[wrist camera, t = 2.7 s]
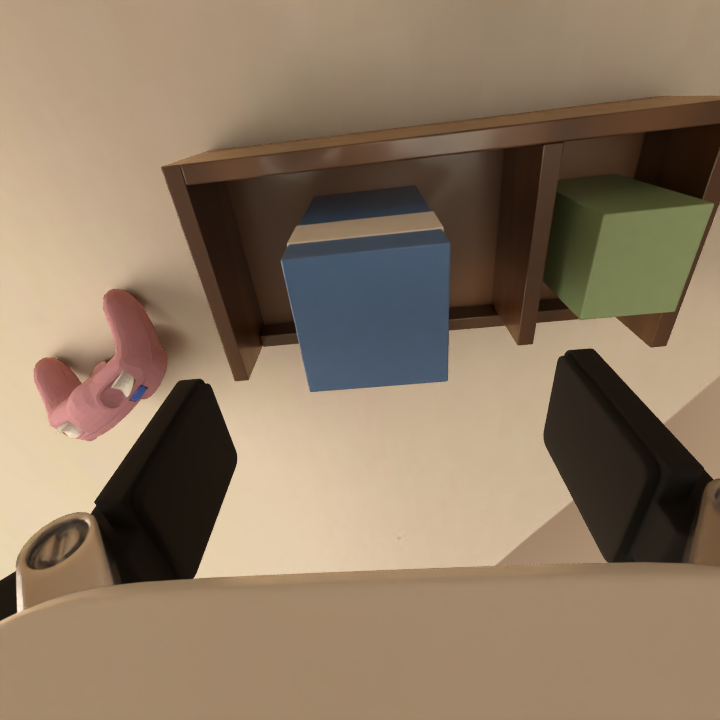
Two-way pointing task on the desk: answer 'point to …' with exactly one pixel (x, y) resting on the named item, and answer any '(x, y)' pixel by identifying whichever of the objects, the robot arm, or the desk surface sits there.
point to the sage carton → (622, 245)
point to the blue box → (370, 290)
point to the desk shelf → (437, 206)
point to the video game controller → (105, 375)
